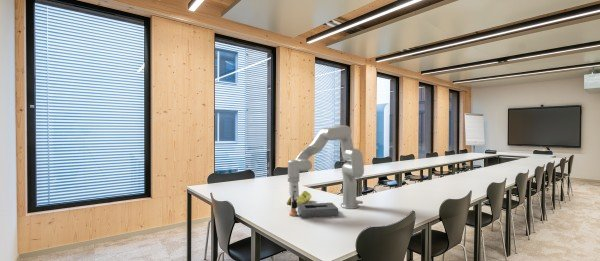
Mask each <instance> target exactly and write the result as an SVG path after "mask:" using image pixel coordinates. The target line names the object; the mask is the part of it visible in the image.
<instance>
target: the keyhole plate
mask: <svg viewBox="0 0 600 261" xmlns="http://www.w3.org/2000/svg"><path fill="white" fill-rule="evenodd" d="M297 214H298V216H300V218H301V219H312V218H314V217H316V218H331V217H332V216H334V217H339V208H338V207H337V205H335V204H334V203H333V202H320V203H319V202H316V203H315V202H313V203H305V204H298V207H297Z"/></svg>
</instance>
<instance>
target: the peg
mask: <svg viewBox="0 0 600 261" xmlns="http://www.w3.org/2000/svg"><path fill="white" fill-rule="evenodd" d="M293 199H294V198H293ZM296 210H297V208H292V198H291V205H290V211H289V216H290V217H297V216H298V210H297V211H296Z"/></svg>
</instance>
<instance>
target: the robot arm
mask: <svg viewBox="0 0 600 261" xmlns="http://www.w3.org/2000/svg"><path fill="white" fill-rule="evenodd" d="M351 134H352V129H351V127H350V126H348V125H344V124H342V125H341V124H337V125H333V126H332V127H322V128H321V129H320V130H319V131H318V132H317V134H316V135H315V137H314V138H313V140H312V141H311V143H310V144H308V146H306V147H305V148H304V149H302V151H300V153H299V154H298V156H297V157H296V158H295V159H289V160H288V162H287V182H288V183H289V184H288V188H289V189H288V190H289V191H288V192H289V196H290V197H289V198H290V204H289V205H290V206H291V198H292V208H296V209H298V207H297V197H299V196H300V193H299V192H300V191H299V189H300V188H299V182H300V171H301V172H309V171H310V170H312V168H313V163H312V162H311V160H309V159H310V158H311V157H312V156H314V155H316V154H319V153H321V152H322V151H323V149H324V147H325V146H326V144H327V143H328V142H330V141H331V142H332V141H339V142H340V148H341V156H342V159H343V160H344V161H346V162H344V164H343V165H342V166H341V174H342V203H340V208H341V207H342V208H344V209H347V210H348V209H353V210H355V209H357V208H359V205H362V204H363V203H364V202H363V201H362V200H358V199H357V179H359V178H362V177H363V176H364V173H365V165H364V156H363V153H362V152H361V150H360V149H358V148H354V144H353V138H352V137H351ZM293 198H294V199H293Z"/></svg>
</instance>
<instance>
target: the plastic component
mask: <svg viewBox="0 0 600 261" xmlns="http://www.w3.org/2000/svg"><path fill="white" fill-rule="evenodd" d="M312 197H313V196H312V195H311V193H310V192H308V191H307V190H304V191H303V192H301V193H300V194H299V197H297V208H298V204H308V201H310V200H311V199H312ZM286 204H287V205H290V197H289V198H288V200H287V202H286Z"/></svg>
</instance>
